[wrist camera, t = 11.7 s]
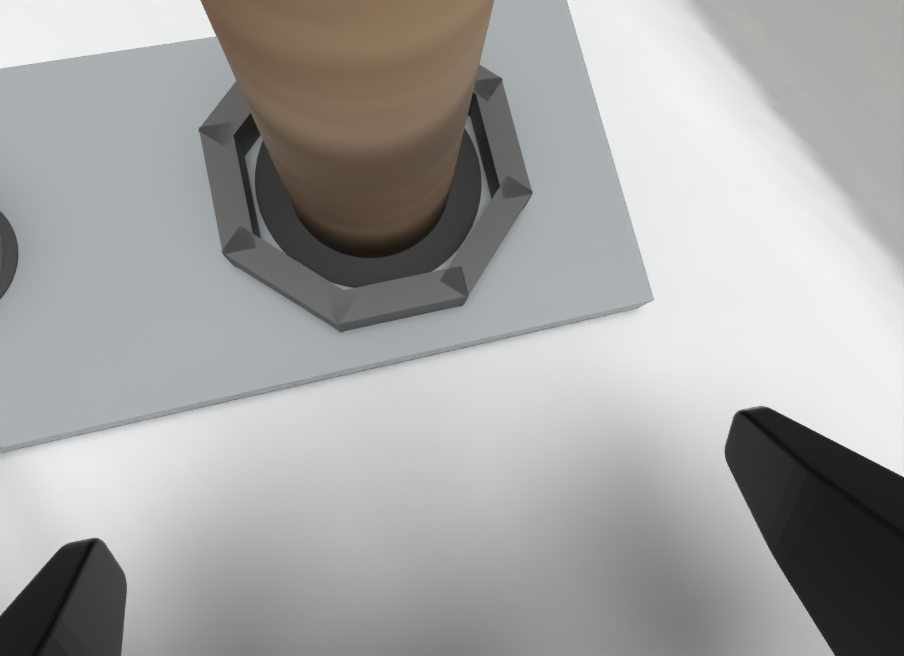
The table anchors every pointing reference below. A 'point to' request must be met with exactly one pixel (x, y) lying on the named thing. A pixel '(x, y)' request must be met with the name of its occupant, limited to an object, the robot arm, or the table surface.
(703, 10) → the table surface
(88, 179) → the plate
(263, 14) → the brown tall cylinder
